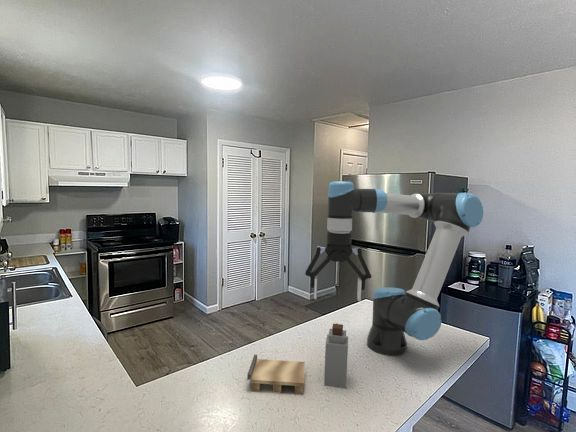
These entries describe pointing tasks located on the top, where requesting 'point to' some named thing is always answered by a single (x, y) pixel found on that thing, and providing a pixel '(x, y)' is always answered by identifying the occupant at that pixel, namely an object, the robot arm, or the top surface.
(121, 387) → the top surface
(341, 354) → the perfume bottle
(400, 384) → the top surface
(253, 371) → the platform
